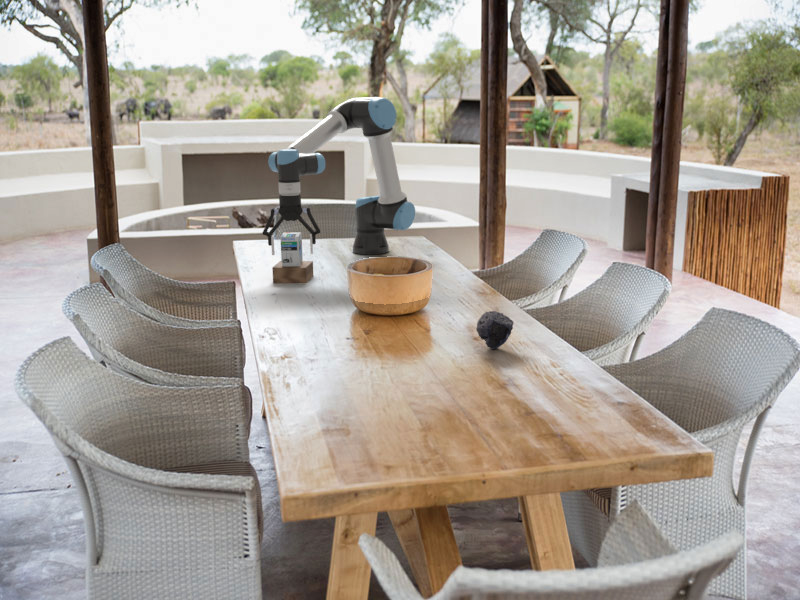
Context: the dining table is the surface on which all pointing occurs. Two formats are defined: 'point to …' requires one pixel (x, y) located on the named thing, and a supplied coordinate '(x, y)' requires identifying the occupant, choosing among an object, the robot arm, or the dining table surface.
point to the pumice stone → (494, 328)
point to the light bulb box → (291, 249)
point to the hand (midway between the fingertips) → (292, 254)
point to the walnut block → (293, 273)
